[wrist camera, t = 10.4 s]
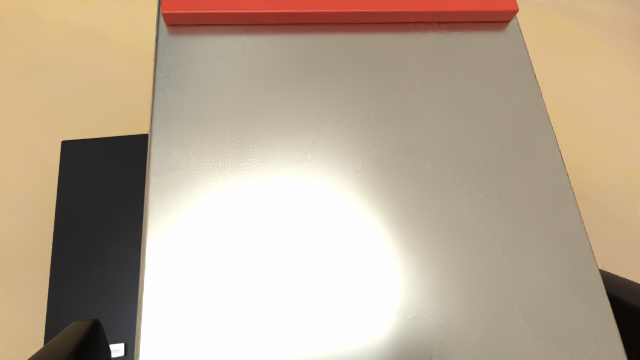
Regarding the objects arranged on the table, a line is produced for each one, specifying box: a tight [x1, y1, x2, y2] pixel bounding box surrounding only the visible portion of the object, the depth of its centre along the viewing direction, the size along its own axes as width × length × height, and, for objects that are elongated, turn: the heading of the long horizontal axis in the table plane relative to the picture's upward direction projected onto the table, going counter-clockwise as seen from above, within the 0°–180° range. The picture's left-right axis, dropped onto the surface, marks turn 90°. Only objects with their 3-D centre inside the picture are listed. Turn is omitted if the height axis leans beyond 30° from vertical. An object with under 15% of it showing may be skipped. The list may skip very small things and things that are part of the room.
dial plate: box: [43, 134, 149, 360], centre depth 14 cm, size 16×14×3 cm
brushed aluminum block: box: [134, 0, 628, 360], centre depth 8 cm, size 10×5×9 cm, turn 5°
